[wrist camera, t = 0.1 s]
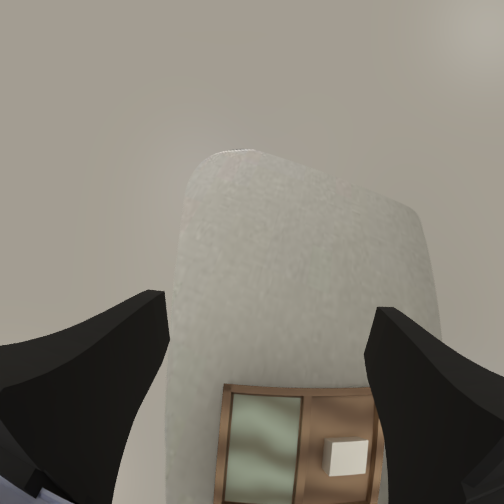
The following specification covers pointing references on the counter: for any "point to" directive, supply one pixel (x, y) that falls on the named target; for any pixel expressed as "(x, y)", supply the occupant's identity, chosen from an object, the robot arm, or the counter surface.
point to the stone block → (345, 456)
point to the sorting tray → (294, 445)
